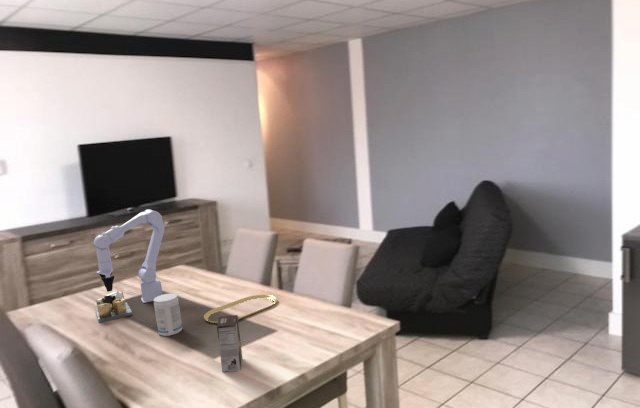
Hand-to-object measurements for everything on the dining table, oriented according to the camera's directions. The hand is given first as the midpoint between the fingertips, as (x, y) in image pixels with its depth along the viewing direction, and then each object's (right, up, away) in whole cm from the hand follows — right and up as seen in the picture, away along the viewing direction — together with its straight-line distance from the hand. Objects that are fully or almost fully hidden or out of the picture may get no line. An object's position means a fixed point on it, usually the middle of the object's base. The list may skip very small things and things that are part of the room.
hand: (108, 289), depth 238 cm
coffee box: (+69, -15, -66) cm, 96 cm away
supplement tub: (+38, -12, -32) cm, 51 cm away
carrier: (+4, -10, -5) cm, 12 cm away
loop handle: (+64, -8, -13) cm, 66 cm away
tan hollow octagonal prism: (+8, -9, -6) cm, 13 cm away
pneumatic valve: (-8, -7, +6) cm, 12 cm away
